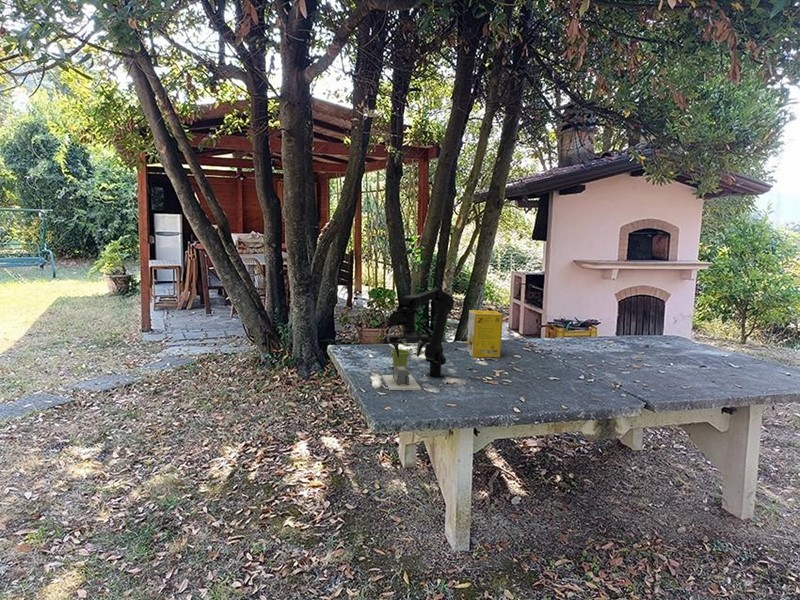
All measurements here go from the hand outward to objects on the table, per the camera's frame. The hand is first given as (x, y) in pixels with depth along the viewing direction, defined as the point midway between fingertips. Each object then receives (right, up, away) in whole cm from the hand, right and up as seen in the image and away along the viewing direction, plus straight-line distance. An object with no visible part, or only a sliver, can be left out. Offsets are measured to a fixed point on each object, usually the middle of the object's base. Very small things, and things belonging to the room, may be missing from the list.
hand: (407, 357), depth 244 cm
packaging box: (+45, -6, +68) cm, 81 cm away
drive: (-3, -11, -2) cm, 11 cm away
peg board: (-3, -12, -2) cm, 12 cm away
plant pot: (-4, -9, +26) cm, 28 cm away
